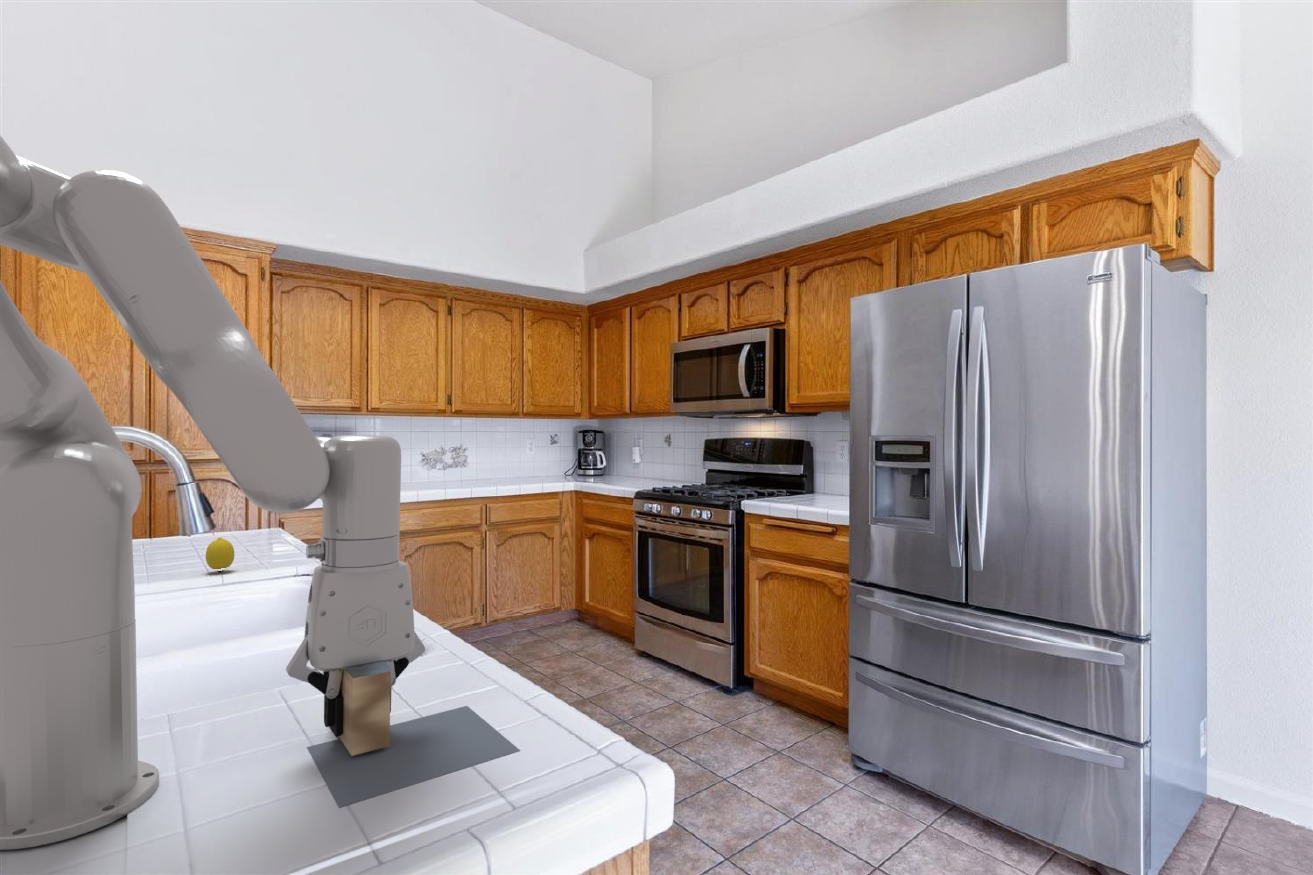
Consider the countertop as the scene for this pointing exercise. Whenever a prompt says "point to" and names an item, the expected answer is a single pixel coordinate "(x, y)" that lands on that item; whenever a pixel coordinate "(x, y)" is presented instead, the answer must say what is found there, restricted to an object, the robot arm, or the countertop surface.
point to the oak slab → (366, 707)
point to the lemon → (219, 554)
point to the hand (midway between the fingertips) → (357, 724)
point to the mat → (410, 755)
